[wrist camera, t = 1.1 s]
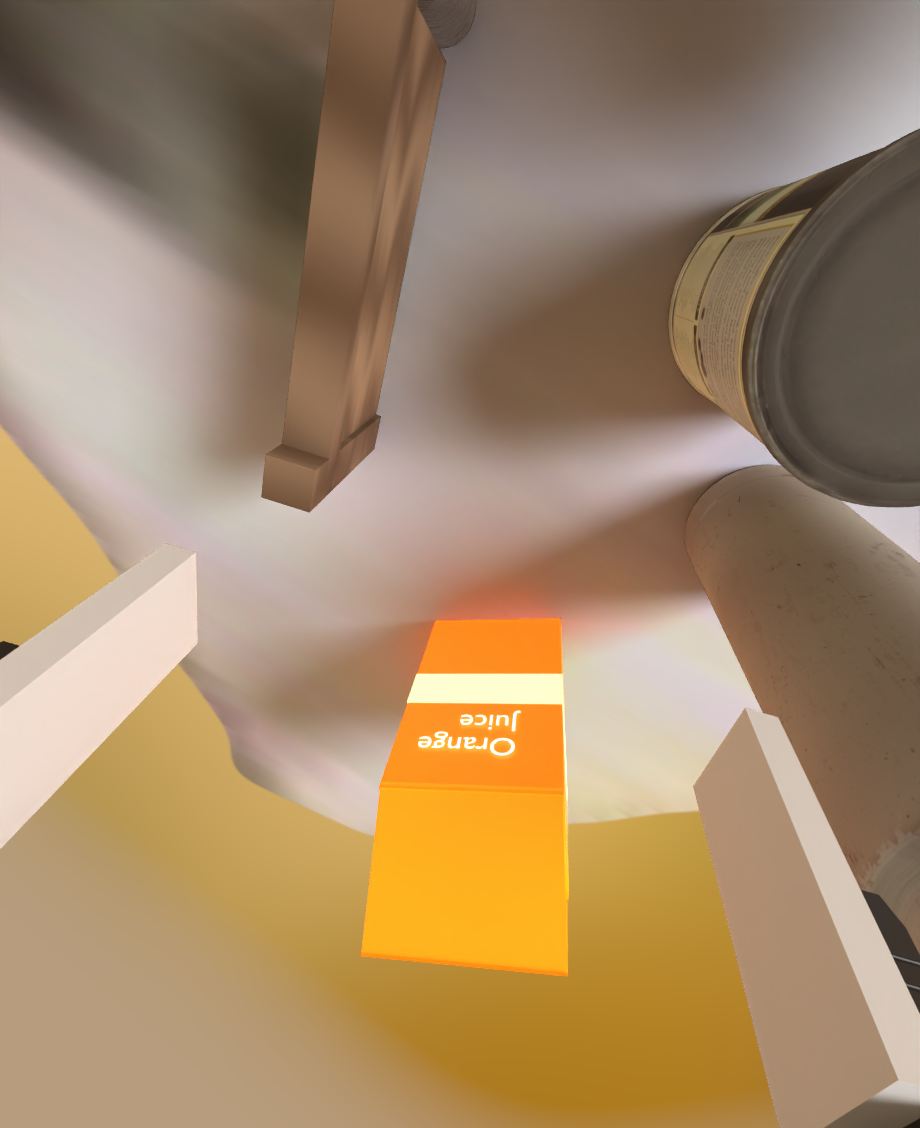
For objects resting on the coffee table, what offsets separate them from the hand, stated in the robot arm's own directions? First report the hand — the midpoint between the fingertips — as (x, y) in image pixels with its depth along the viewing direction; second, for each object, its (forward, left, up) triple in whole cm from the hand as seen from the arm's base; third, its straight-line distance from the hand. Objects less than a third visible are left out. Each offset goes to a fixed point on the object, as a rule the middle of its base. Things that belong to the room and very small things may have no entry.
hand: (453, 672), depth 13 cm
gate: (-6, -9, -21) cm, 23 cm away
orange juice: (+16, +4, -22) cm, 28 cm away
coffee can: (-10, +10, -22) cm, 26 cm away
